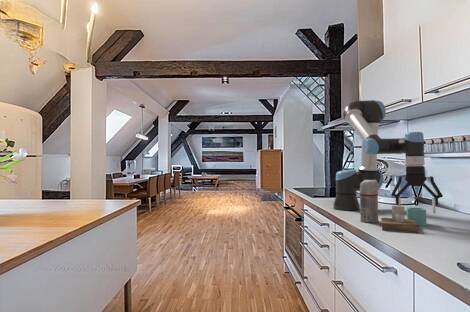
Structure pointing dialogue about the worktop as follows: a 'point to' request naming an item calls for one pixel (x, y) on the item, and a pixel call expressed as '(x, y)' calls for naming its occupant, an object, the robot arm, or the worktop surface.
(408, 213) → the teal shadow box frame
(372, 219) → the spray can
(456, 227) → the worktop surface
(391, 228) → the brown square board
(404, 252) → the worktop surface
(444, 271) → the worktop surface
